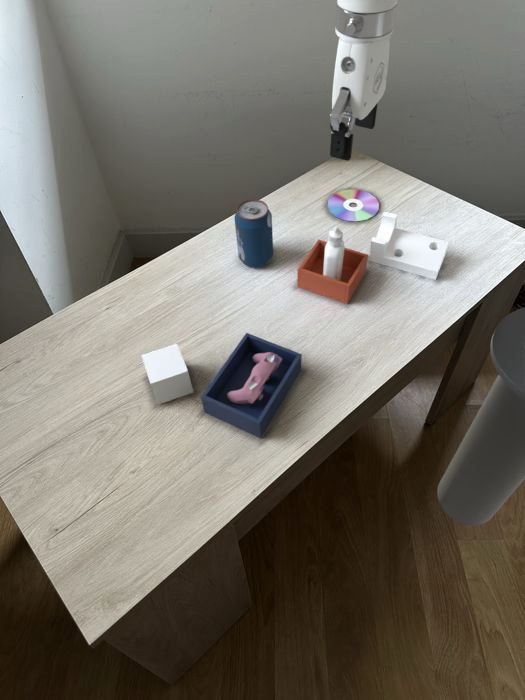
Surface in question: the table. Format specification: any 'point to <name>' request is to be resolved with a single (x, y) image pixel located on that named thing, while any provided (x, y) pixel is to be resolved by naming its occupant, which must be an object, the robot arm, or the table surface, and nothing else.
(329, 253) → the eye dropper bottle
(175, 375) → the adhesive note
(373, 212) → the cd
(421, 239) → the bracket
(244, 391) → the video game controller
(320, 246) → the terracotta bin
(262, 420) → the navy bin
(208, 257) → the table surface
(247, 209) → the soda can
